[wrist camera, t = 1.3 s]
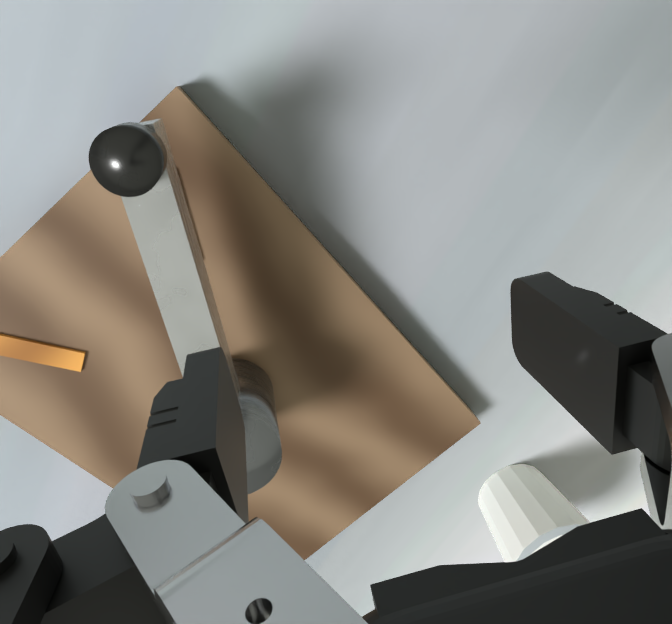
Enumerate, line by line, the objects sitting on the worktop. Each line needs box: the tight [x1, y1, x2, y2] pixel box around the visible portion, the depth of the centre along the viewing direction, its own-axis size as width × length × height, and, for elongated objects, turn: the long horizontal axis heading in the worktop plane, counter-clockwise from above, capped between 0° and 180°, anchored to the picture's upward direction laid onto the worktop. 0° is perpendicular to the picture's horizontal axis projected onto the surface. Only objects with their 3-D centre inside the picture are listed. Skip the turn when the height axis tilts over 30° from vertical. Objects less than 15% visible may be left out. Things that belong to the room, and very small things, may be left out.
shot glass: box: [478, 464, 590, 562], centre depth 39 cm, size 7×7×7 cm
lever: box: [89, 118, 282, 494], centre depth 26 cm, size 19×5×8 cm, turn 10°
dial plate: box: [0, 86, 480, 560], centre depth 33 cm, size 20×28×2 cm
